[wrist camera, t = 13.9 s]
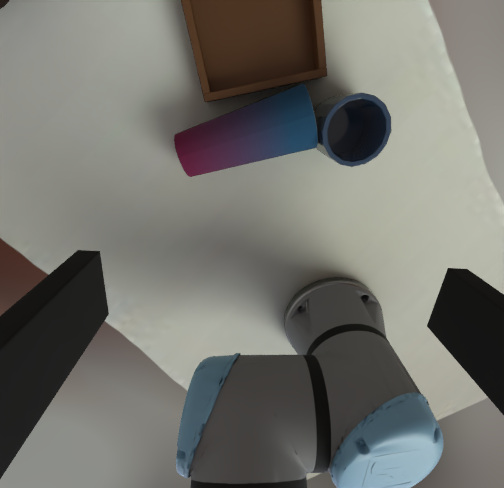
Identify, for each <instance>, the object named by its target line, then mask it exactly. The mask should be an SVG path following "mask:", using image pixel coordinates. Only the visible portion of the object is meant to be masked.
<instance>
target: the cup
mask: <svg viewBox="0 0 504 488" xmlns="http://www.w3.org/2000/svg"><path fill="white" fill-rule="evenodd" d="M174 142H175V148H176V152H177V155H178V158H179V160H180V163H181V165H182V167H183V169H184V171H185V172H186V174H187V175H188V176H190V177H192V176H196V175H201V174H205V173H209V172H213V171H218V170H222V169H226V168H231V167H235V166H239V165H243V164H248V163H252V162H256V161H261V160H265V159H269V158H274V157H278V156H282V155H286V154H291V153H295V152H299V151H304V150H308V149H312V148H316V147H317V145H318V134H317V126H316V120H315V115H314V110H313V106H312V102H311V99H310V96H309V93H308V90H307V88H306V86H305V85H304V84H301V85H298V86H296V87H293V88H291V89H288V90H286V91H283V92H281V93H278V94H276V95H273V96H271V97H268V98H266V99H263V100H261V101H258V102H255V103H253V104H250V105H248V106H245V107H243V108H240V109H238V110H235V111H233V112H230V113H228V114H225V115H223V116H220V117H218V118H215V119H213V120H210V121H208V122H205V123H202V124H200V125H197V126H195V127H192V128H190V129H187V130H185V131H182V132H180V133H177V134H175V136H174Z"/></svg>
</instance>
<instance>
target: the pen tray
mask: <svg viewBox="0 0 504 488" xmlns="http://www.w3.org/2000/svg"><path fill="white" fill-rule="evenodd" d="M181 2H182V6H183V11H184V15H185V19H186V23H187V28H188V32H189V36H190V40H191V45H192V49H193V53H194V58H195V62H196V66H197V70H198V75H199V79H200V83H201V87H202V92H203V96H204V100H205V102H211V101H216V100H220V99H225V98H230V97H234V96H239V95H243V94H248V93H253V92H257V91H262V90H267V89H271V88H276V87H281V86H285V85H290V84H295V83H299V82H304V81H309V80H313V79H318V78H322V77H325V76H327V68H326V56H325V44H324V31H323V18H322V6H321V0H181Z"/></svg>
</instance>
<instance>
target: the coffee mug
mask: <svg viewBox="0 0 504 488" xmlns="http://www.w3.org/2000/svg"><path fill="white" fill-rule="evenodd" d="M8 2H9V0H0V9H1V8H2V7H4V6H5V5H6V4H7V3H8Z"/></svg>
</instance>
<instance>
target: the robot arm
mask: <svg viewBox="0 0 504 488" xmlns="http://www.w3.org/2000/svg"><path fill="white" fill-rule="evenodd" d="M108 314H109V313H108V306H107V299H106V292H105V285H104V278H103V271H102V264H101V257H100V251H82V250H78V251H77V252H75V253H74V254H73V255H72V256H71V257H70V258H68V259H67V260H66V261H65V262H64V263H62V264H61V265H60V266H59V267H58V268H57V269H55V270H54V271H53V272H52V273H51V274H49V275H48V276H47V277H46V278H45V279H44V280H42V281H41V282H40V283H39V284H38V285H37V286H35V287H34V288H33V289H32V290H31V291H30V292H28V293H27V294H26V295H25V296H24V297H22V298H21V299H20V300H19V301H18V302H16V303H15V304H14V305H13V306H12V307H11V308H9V309H8V310H7V311H6V312H5V313H4V314H2V315H1V316H0V479H1V477H2V476H3V474H4V472H5V471H6V469H7V468H8V466H9V465H10V463H11V462H12V460H13V459H14V457H15V456H16V454H17V453H18V451H19V450H20V448H21V447H22V445H23V444H24V442H25V440H26V438H27V437H28V436H29V434H30V433H31V431H32V430H33V428H34V427H35V425H36V424H37V422H38V421H39V419H40V418H41V416H42V415H43V413H44V411H45V410H46V409H47V407H48V406H49V404H50V402H51V401H52V399H53V398H54V396H55V395H56V393H57V392H58V390H59V389H60V387H61V386H62V384H63V382H64V381H65V380H66V378H67V376H68V375H69V374H70V372H71V371H72V369H73V368H74V366H75V365H76V363H77V361H78V360H79V358H80V357H81V355H82V354H83V352H84V351H85V349H86V348H87V346H88V345H89V343H90V342H91V340H92V339H93V337H94V336H95V334H96V333H97V331H98V329H99V328H100V327H101V325H102V323H103V322H104V320H105V319H106V317H107V316H108ZM427 327H428V328H429V329H430V330H431V331H432V332H433V334H434V335H435V336H436V337H437V338H438V339H439V341H440V342H441V343H442V344H443V345H444V346H445V347H446V349H447V350H448V351H449V352H450V353H451V354H452V356H453V357H454V358H455V359H456V360H457V361H458V363H459V364H460V365H461V366H462V367H463V368H464V370H465V371H466V372H467V373H468V374H469V375H470V377H471V378H472V379H473V380H474V381H475V382H476V384H477V385H478V386H479V387H480V388H481V389H482V390H483V392H484V393H485V394H486V395H487V396H488V397H489V399H490V400H491V401H492V402H493V403H494V404H495V406H496V407H497V408H498V409H499V410H500V411H501V413H502V414H503V415H504V295H503V294H502V293H500V292H499V291H498V290H496V289H495V288H493V287H492V286H490V285H489V284H488V283H486V282H485V281H483V280H482V279H481V278H479V277H478V276H476V275H475V274H473V273H472V272H471V271H469V270H468V269H454V268H448V270H447V273H446V275H445V278H444V281H443V284H442V286H441V289H440V292H439V294H438V297H437V300H436V303H435V305H434V308H433V311H432V314H431V316H430V319H429V322H428V325H427ZM285 329H286V334H287V337H288V340H289V342H290V344H291V345H292V347H293V348H294V349H295V351H296V352H297V354H298V355H240V353H236V354H235V355H229V356H213V357H208V358H206V359H204V360H203V361H202V362H201V363H200V364H199V365H198V367H197V368H196V370H195V372H194V375H193V377H192V380H191V383H190V386H189V389H188V392H187V396H186V400H185V404H184V408H183V413H182V418H181V423H180V429H179V436H178V443H177V446H178V451H177V457H176V468H177V472H178V473H179V474H180V475H183V476H184V477H185V478H189V477H190V476H191V488H307V481H306V474H307V473H331V477H332V481H333V482H334V484H335V485H336V487H337V488H411V487H412V486H414V485H415V484H417V483H418V482H420V481H421V480H422V479H424V478H425V477H426V476H427V475H428V474H429V473H430V472H431V471H432V470H433V468H434V467H435V466H436V464H437V463H438V461H439V459H440V457H441V454H442V450H443V435H442V431H441V429H440V427H439V425H438V423H437V421H436V419H435V417H434V415H433V413H432V411H431V409H430V407H429V404H428V401H427V399H426V398H425V397H424V396H423V395H422V394H421V393H420V391H419V389H418V388H417V386H416V385H415V383H414V381H413V380H412V378H411V377H410V375H409V373H408V372H407V370H406V369H405V367H404V365H403V364H402V362H401V361H400V359H399V357H398V356H397V354H396V353H395V351H394V349H393V348H392V346H391V345H390V343H389V342H388V340H387V338H386V334H385V327H384V320H383V314H382V309H381V306H380V304H379V302H378V301H377V299H376V298H375V296H374V295H373V293H372V292H371V291H370V290H369V289H368V288H367V287H366V286H364V285H363V284H361V283H359V282H357V281H354V280H351V279H346V278H329V279H324V280H320V281H317V282H314V283H312V284H310V285H308V286H307V287H305V288H304V289H302V290H301V291H300V292H299V293H297V294H296V295H295V297H294V298H293V299H292V300H291V302H290V303H289V305H288V307H287V310H286V313H285Z"/></svg>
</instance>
